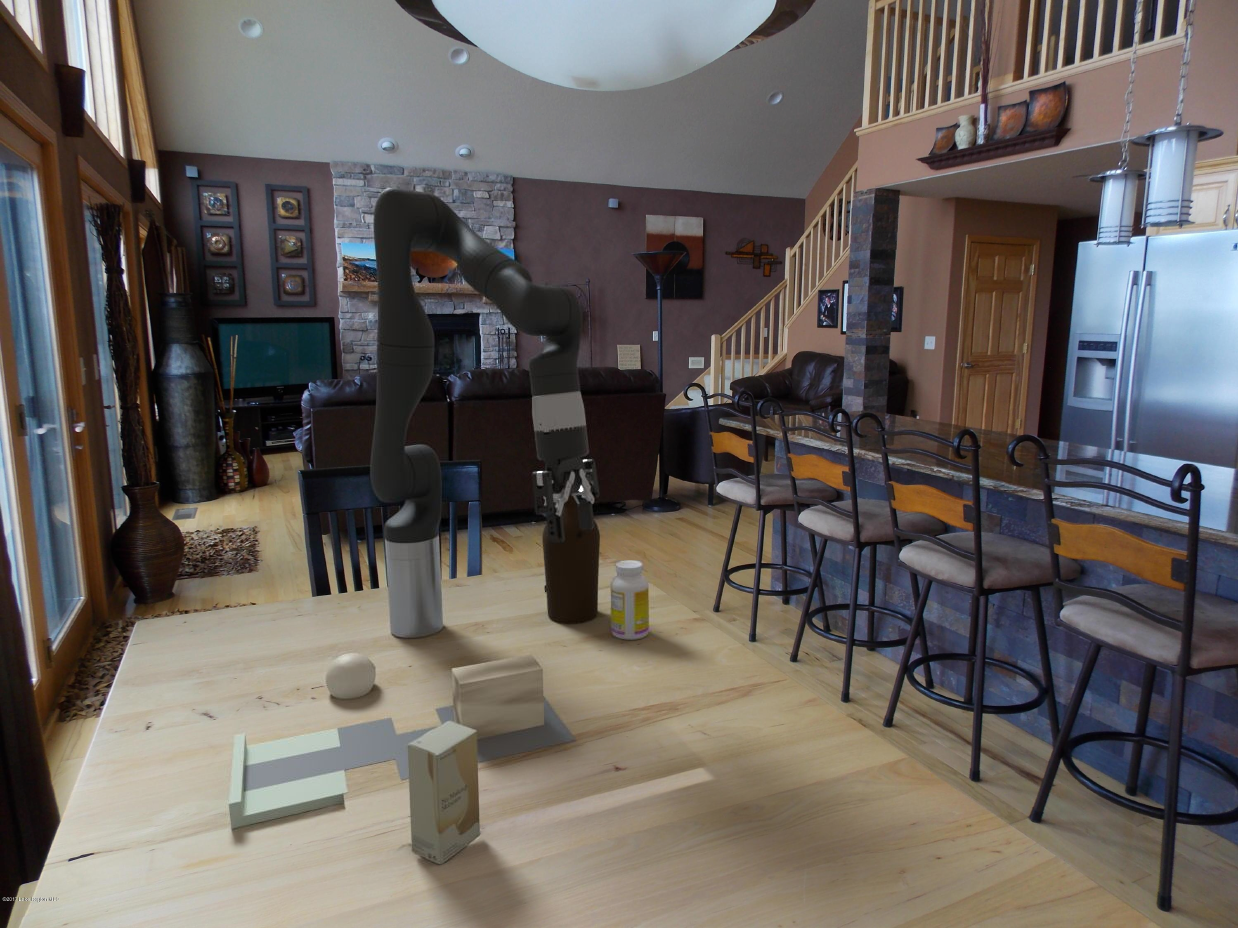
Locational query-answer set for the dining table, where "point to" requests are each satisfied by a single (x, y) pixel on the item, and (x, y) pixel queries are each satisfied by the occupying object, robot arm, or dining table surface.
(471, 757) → the skincare box
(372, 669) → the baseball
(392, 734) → the board
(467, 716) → the birch block
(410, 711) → the dining table surface
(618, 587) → the supplement bottle
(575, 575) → the olive oil
